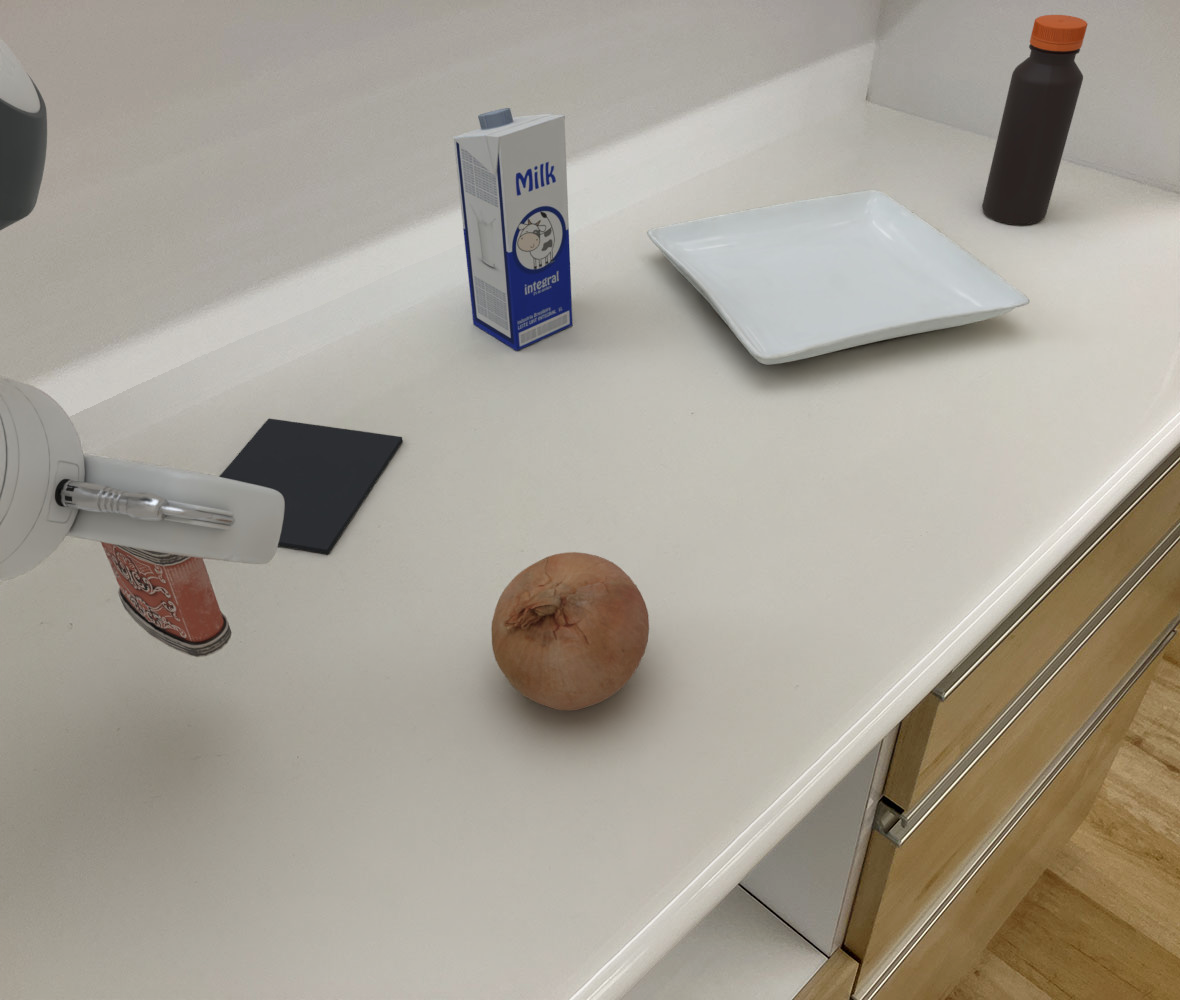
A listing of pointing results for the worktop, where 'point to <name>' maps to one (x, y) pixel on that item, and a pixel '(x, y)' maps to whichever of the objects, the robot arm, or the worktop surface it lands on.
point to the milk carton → (516, 225)
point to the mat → (314, 476)
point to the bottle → (1036, 123)
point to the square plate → (832, 274)
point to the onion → (570, 630)
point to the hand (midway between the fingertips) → (161, 508)
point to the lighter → (170, 598)
